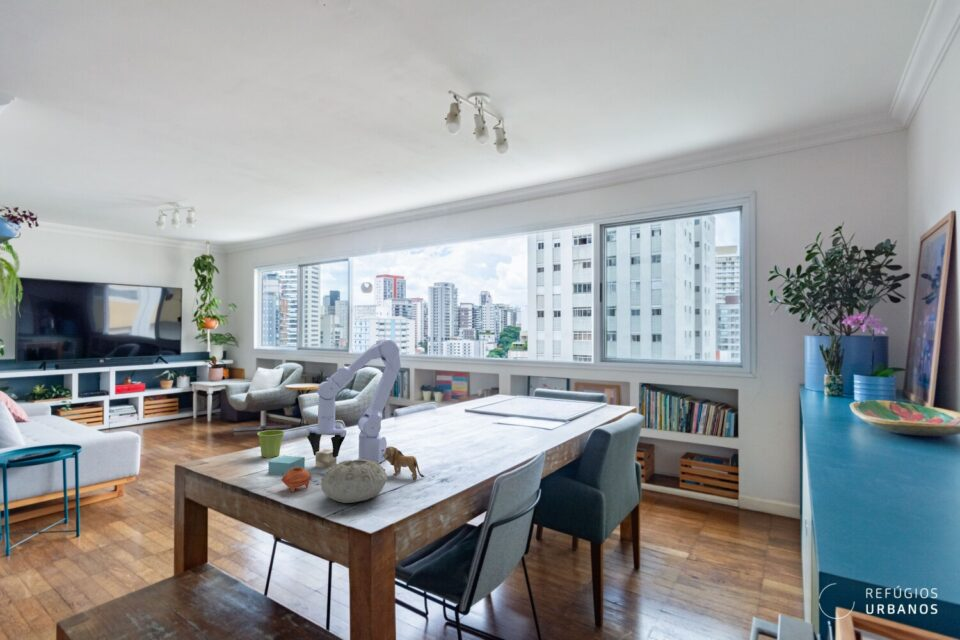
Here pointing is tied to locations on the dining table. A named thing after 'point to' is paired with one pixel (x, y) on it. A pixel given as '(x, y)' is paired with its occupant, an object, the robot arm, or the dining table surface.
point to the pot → (296, 478)
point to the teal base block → (285, 464)
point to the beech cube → (325, 458)
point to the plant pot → (270, 442)
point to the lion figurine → (401, 461)
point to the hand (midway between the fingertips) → (325, 455)
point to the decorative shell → (354, 480)
